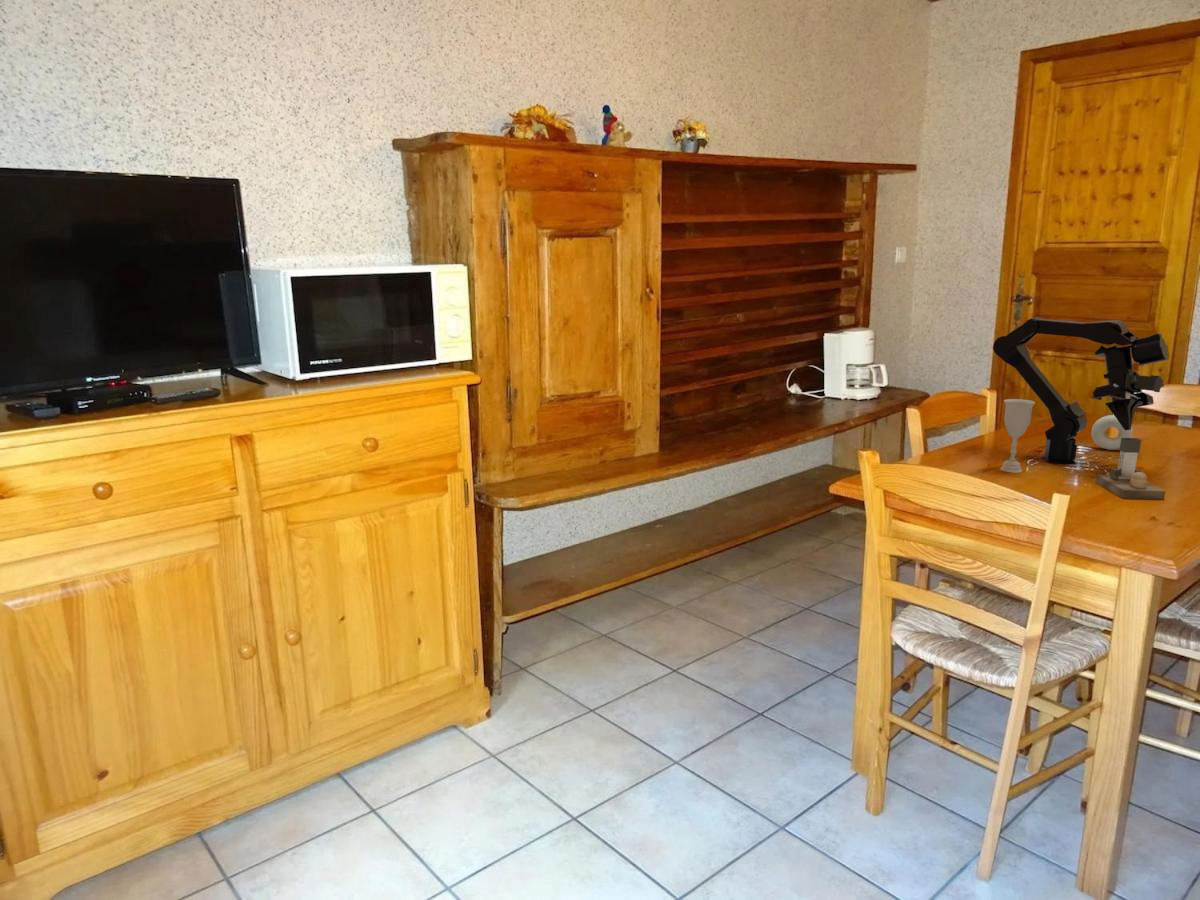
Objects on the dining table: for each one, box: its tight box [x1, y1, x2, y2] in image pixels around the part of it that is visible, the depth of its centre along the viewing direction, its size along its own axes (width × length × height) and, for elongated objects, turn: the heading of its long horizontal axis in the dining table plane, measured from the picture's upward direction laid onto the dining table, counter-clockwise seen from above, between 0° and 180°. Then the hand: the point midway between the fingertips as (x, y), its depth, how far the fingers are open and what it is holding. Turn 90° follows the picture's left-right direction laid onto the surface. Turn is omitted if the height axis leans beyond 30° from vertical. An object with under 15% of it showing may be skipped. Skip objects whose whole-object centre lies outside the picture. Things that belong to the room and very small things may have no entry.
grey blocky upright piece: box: [1117, 437, 1142, 477], centre depth 198 cm, size 2×3×9 cm, turn 84°
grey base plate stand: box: [1095, 468, 1166, 501], centre depth 197 cm, size 13×9×4 cm
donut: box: [1091, 414, 1134, 451], centre depth 234 cm, size 10×4×10 cm, turn 59°
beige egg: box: [1130, 471, 1148, 489], centre depth 193 cm, size 3×3×4 cm
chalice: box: [999, 398, 1036, 474], centre depth 213 cm, size 7×7×18 cm
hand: (1127, 430), depth 206 cm, fingers closed
